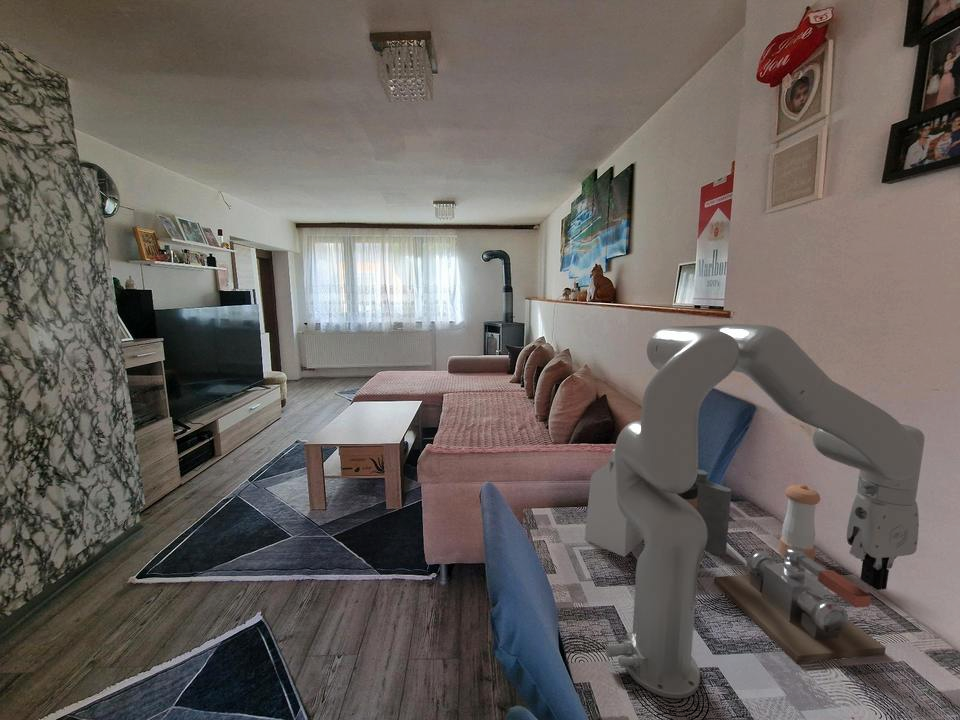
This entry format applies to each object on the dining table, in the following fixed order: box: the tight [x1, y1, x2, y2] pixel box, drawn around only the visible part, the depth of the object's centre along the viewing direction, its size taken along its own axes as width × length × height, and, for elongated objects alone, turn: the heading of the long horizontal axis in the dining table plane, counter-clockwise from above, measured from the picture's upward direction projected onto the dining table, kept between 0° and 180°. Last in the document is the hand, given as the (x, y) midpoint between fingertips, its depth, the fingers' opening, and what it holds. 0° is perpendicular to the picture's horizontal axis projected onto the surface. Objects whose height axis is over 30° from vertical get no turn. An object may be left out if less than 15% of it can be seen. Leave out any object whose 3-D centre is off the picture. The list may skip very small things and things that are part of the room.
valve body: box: [746, 549, 849, 640], centre depth 85 cm, size 7×18×10 cm, turn 7°
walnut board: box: [713, 573, 886, 664], centre depth 85 cm, size 18×22×2 cm
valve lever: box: [785, 547, 872, 608], centre depth 78 cm, size 15×3×2 cm, turn 5°
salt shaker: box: [778, 483, 821, 562], centre depth 105 cm, size 7×7×19 cm
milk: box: [584, 448, 644, 558], centre depth 112 cm, size 12×12×26 cm
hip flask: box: [695, 468, 732, 557], centre depth 112 cm, size 16×4×20 cm, turn 28°
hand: (873, 584), depth 76 cm, fingers closed
